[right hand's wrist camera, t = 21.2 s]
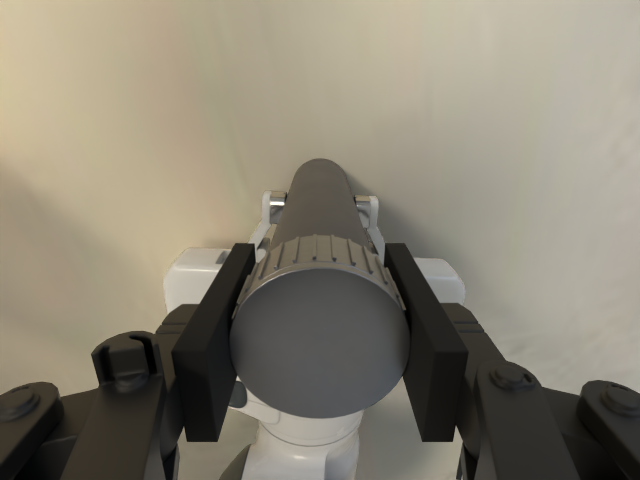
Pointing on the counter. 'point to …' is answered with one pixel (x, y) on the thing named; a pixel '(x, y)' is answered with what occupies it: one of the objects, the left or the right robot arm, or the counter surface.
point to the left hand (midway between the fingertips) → (320, 195)
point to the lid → (319, 329)
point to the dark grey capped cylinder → (320, 206)
